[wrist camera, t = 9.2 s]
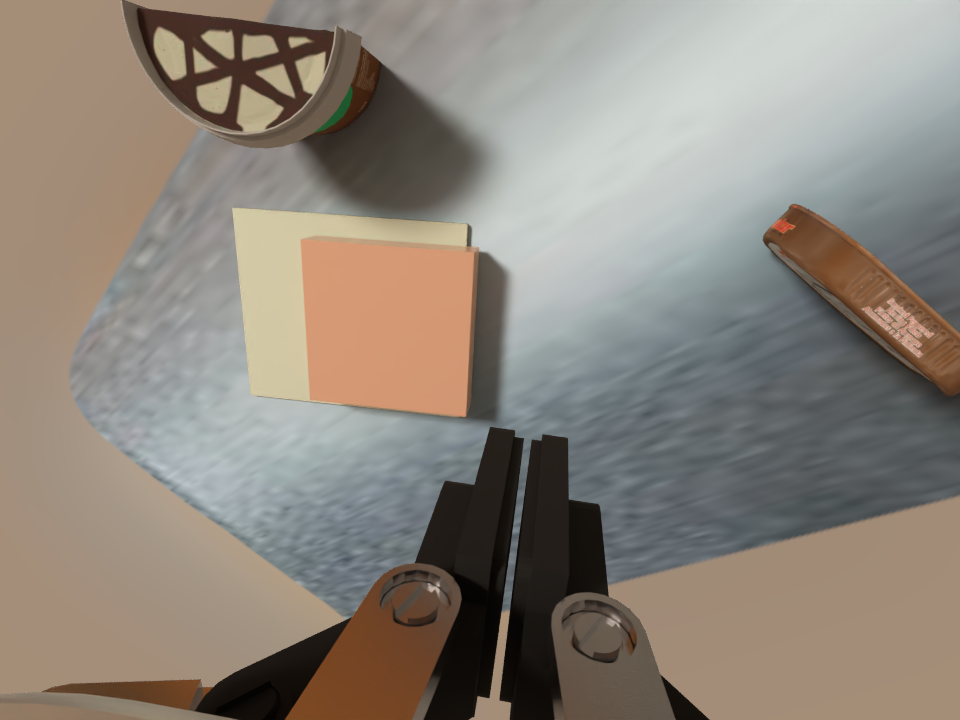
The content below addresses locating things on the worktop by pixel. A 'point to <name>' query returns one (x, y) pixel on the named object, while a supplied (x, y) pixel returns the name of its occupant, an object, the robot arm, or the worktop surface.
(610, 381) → the worktop surface
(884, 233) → the worktop surface
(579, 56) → the worktop surface
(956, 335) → the tin
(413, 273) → the tile
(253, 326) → the mat
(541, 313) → the worktop surface
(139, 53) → the food container
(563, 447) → the robot arm
